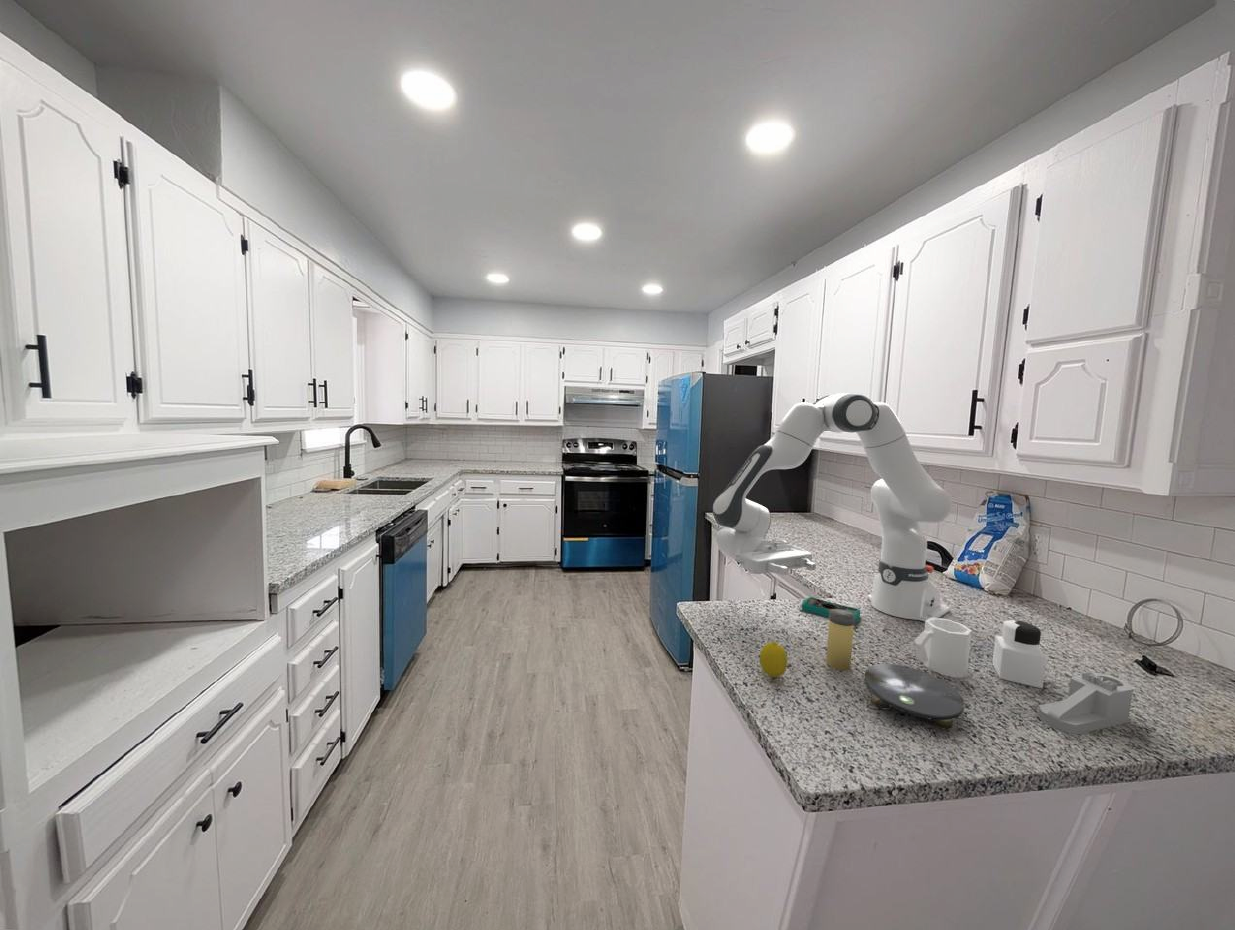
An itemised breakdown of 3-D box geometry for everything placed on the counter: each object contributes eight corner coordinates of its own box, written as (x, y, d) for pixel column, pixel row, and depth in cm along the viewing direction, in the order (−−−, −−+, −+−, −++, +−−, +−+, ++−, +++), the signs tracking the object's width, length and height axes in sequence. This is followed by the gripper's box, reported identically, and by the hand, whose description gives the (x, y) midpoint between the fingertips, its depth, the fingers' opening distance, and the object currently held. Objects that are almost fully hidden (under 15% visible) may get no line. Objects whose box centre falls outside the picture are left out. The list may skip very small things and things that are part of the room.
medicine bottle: (1032, 673, 98) (1039, 621, 97) (1043, 689, 92) (1050, 634, 91) (991, 663, 102) (997, 614, 101) (999, 678, 96) (1005, 626, 95)
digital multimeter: (806, 603, 135) (807, 594, 135) (860, 618, 126) (861, 608, 125) (799, 611, 130) (799, 601, 129) (855, 627, 120) (856, 617, 120)
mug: (941, 655, 105) (945, 616, 104) (977, 676, 97) (982, 633, 96) (899, 660, 103) (903, 619, 102) (932, 681, 94) (937, 637, 93)
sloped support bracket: (1031, 716, 84) (1036, 676, 83) (1096, 703, 88) (1101, 665, 88) (1068, 737, 78) (1074, 694, 78) (1135, 722, 83) (1141, 681, 82)
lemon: (754, 677, 94) (756, 641, 94) (766, 667, 98) (768, 633, 97) (778, 688, 90) (781, 651, 90) (790, 678, 94) (792, 642, 93)
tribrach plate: (895, 675, 96) (896, 656, 96) (980, 720, 82) (982, 698, 82) (845, 692, 90) (847, 672, 89) (929, 745, 75) (931, 721, 75)
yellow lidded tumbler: (836, 656, 104) (839, 607, 102) (856, 667, 99) (860, 616, 98) (820, 661, 101) (824, 611, 100) (840, 672, 97) (844, 620, 96)
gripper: (731, 546, 117) (769, 561, 104) (787, 539, 126) (829, 553, 113) (730, 569, 118) (768, 587, 105) (786, 561, 126) (827, 577, 114)
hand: (800, 569), depth 109 cm, fingers open, 8 cm apart
